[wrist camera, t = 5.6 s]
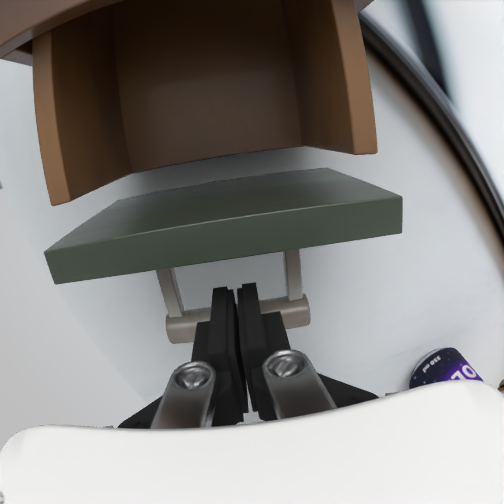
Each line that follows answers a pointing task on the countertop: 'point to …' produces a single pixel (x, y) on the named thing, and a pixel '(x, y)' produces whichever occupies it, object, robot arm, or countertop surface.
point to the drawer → (207, 137)
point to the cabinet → (48, 22)
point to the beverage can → (442, 368)
